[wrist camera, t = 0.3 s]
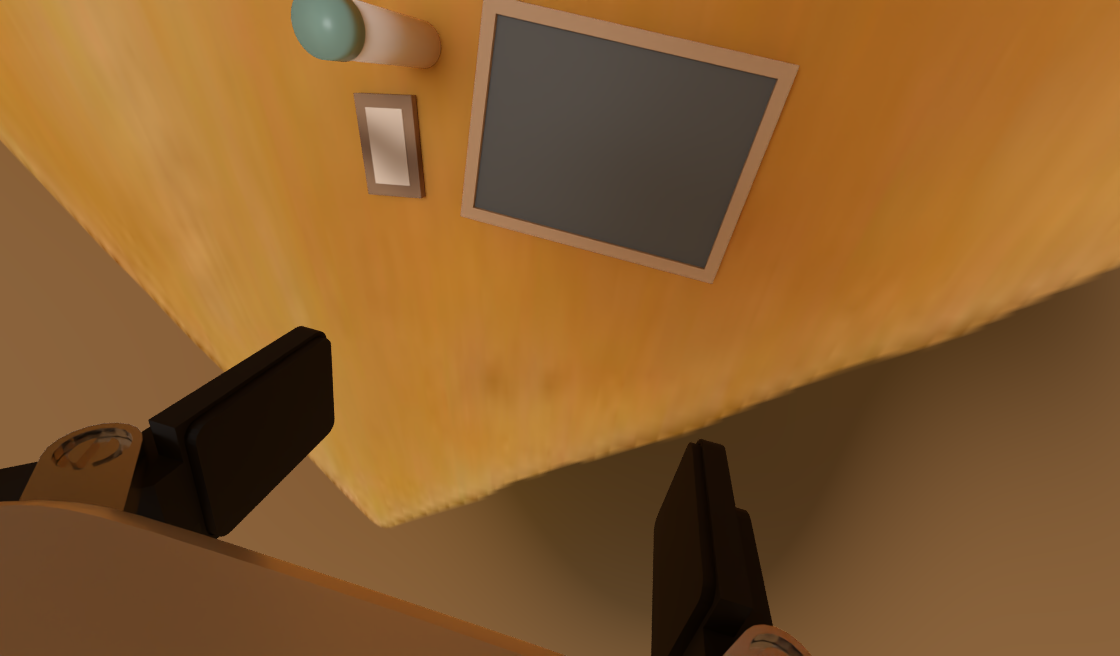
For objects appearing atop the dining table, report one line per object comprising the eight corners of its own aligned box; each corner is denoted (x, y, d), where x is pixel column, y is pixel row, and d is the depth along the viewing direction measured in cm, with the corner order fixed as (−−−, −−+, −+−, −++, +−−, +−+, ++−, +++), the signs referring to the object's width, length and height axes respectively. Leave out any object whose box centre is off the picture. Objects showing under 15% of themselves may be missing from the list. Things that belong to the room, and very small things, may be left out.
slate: (489, -4, 33) (484, -7, 32) (795, 66, 32) (799, 65, 31) (465, 212, 41) (460, 216, 40) (710, 278, 39) (712, 284, 38)
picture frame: (359, 93, 38) (352, 92, 37) (415, 95, 37) (410, 95, 37) (373, 192, 42) (368, 194, 41) (425, 196, 41) (420, 198, 40)
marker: (401, 13, 35) (288, -21, 24) (444, 23, 35) (348, -7, 24) (399, 64, 37) (293, 52, 26) (440, 74, 36) (349, 66, 26)
